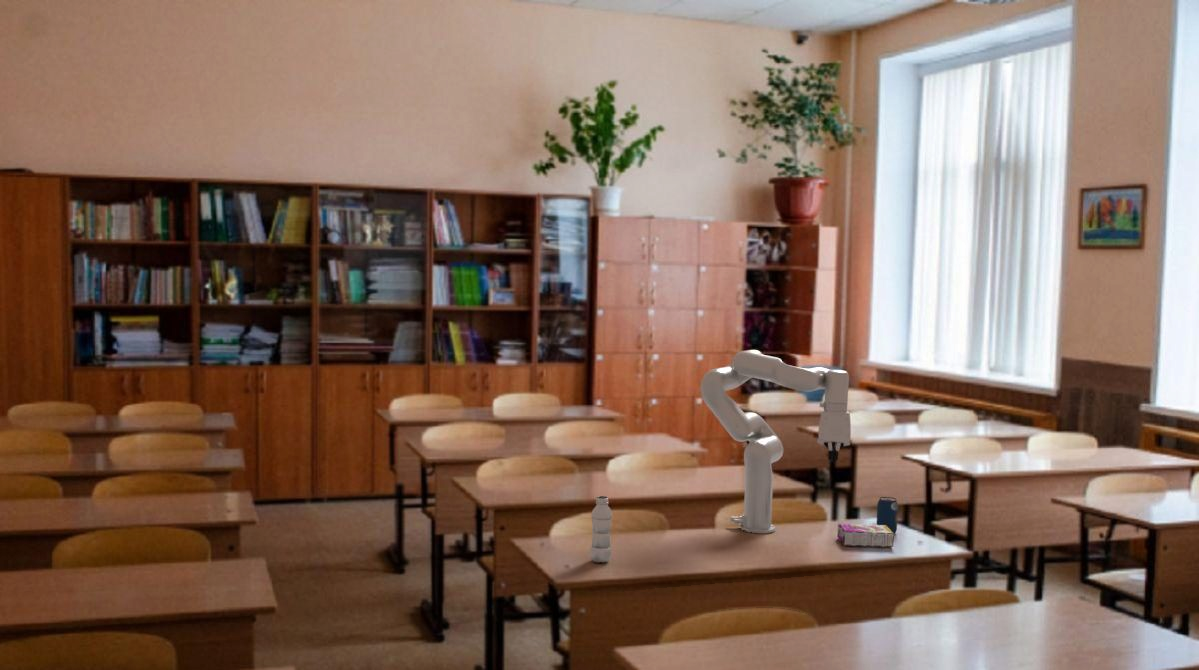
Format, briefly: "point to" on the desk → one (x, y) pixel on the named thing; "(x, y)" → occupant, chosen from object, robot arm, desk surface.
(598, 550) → the plastic bottle
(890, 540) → the candy bar box
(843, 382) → the robot arm
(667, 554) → the desk surface
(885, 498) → the soda can
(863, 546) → the mat
